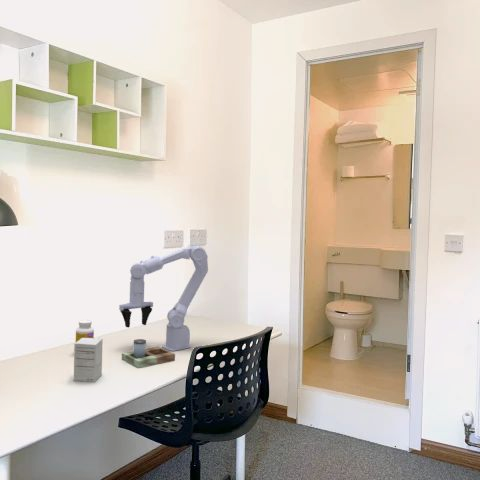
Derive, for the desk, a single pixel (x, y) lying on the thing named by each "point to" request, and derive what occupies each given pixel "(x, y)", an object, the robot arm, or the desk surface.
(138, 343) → the tube
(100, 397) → the desk surface
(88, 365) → the supplement box
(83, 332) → the supplement bottle
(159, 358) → the rack
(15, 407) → the desk surface
